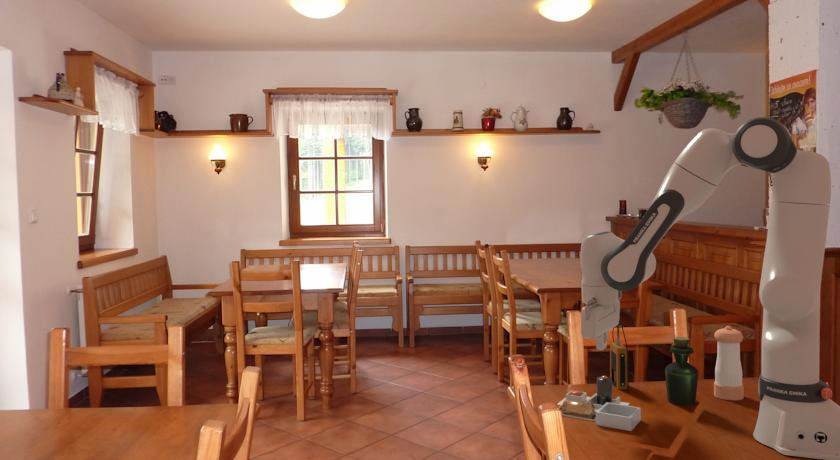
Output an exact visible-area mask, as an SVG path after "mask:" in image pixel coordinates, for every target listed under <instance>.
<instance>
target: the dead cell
mask: <svg viewBox="0 0 840 460" xmlns="http://www.w3.org/2000/svg"><path fill="white" fill-rule="evenodd" d="M596 393H597V404H599V405H604V404H605V403H606V402H608V403H612V399H613V384H612V378H611V377H610V376H609V377H608V376H607V375H602V376H598V377H596Z"/></svg>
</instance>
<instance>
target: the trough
mask: <svg viewBox="0 0 840 460" xmlns="http://www.w3.org/2000/svg"><path fill="white" fill-rule="evenodd" d="M558 407H559V408H560V409H559V410H562V405H558ZM595 414H596V411H595ZM562 415H563V416H562V417H566V418H572V419H577V420H578V419H579V420H585V421H589V422H595V423H596V416H595V417H594V418H585V417H579V416H574V415H568V414H563V413H562Z"/></svg>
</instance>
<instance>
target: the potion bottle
mask: <svg viewBox="0 0 840 460" xmlns="http://www.w3.org/2000/svg"><path fill="white" fill-rule="evenodd" d="M689 341H690V338H689V337H686V336H674V337H673V342H674V345H671V346H670V348H669V352H670V353H672V354H673V356H674V360H675V361H673V362H671V363H669V364H667V365H666V367H665V369H664V374H665V376H664V377H665V385H666V387H665V388H666V396H667V402H669V403H670V404H673V405H676V406H684V407H685V406H694V405H696V401H697V400H696V399H697V392H698V381H699V380H698V379H699V370H698V369H697V367H696V366H694V365H693V364H691V363H690V362H688V361H689V357H690V355H692V354H693V353H694V348H693V347H692V346H690V345H689V343H690V342H689Z"/></svg>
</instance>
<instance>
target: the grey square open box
mask: <svg viewBox="0 0 840 460" xmlns="http://www.w3.org/2000/svg"><path fill="white" fill-rule="evenodd" d="M641 413H642V408H641V407H640V406H639V407H638V406H633V405H628V406H627V405H621V404H615V403H608V402H606V403H605V404H604V405H603V406H602V407H601V408H600V409H599V410H598V411H596V413H595V417H596V421H595V425H596V426H601V427H606V428H612V429H617V430H623V431H628V432H629V431H630V432H632V431H633V430H634V429H635V428H636V426H637V425H638V424H639V423H640V422H641V421H642V419H641V418H642V417H641V415H642V414H641Z"/></svg>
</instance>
